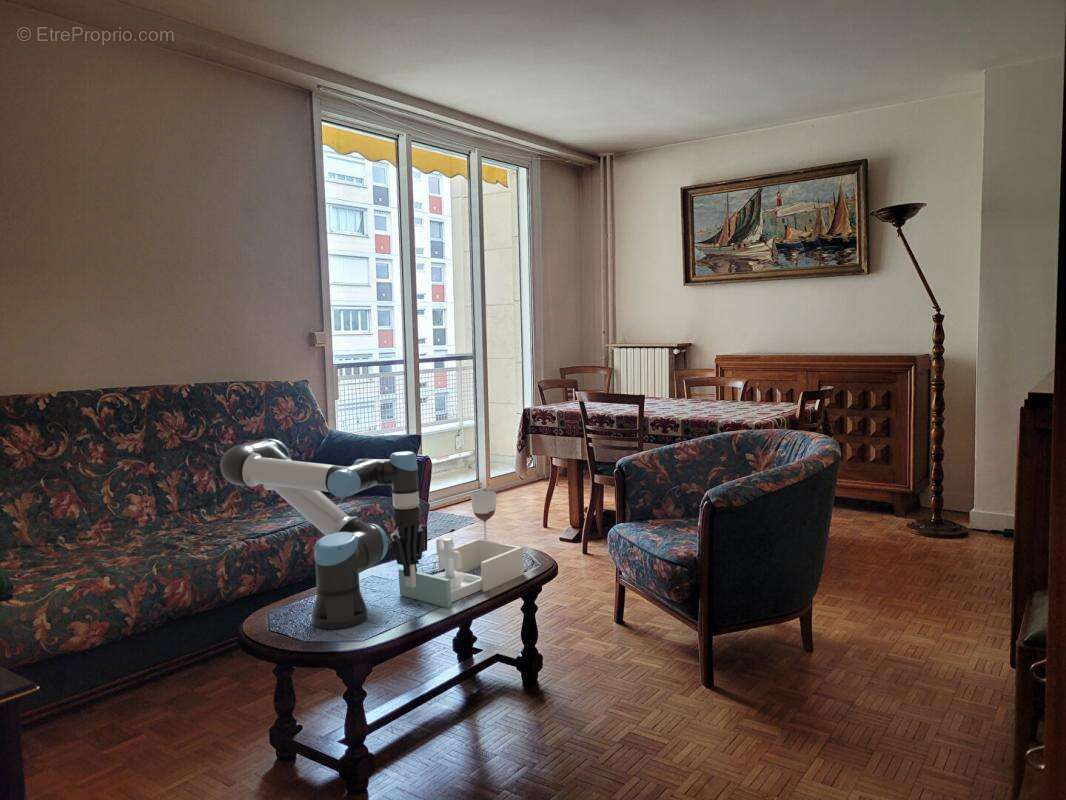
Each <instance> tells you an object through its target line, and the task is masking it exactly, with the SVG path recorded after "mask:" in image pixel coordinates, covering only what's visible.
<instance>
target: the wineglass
mask: <svg viewBox="0 0 1066 800" xmlns="http://www.w3.org/2000/svg"><path fill="white" fill-rule="evenodd" d="M470 499H471V508H472V512H473V515H474V516H475V518H477V519H479V520H480V521H481V522H483V537H484V538H483V540H487V538H488V536H487V535H488V534H487V521H488V520H490V519H492V517H493V516H494V515H495V513H496V509H497V492H495V491H493V490H492V491H491V490H490V491H488V490H483V491H482V490H480V491H477V492H473V493H471V494H470ZM487 541H488V540H487Z"/></svg>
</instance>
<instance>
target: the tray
mask: <svg viewBox="0 0 1066 800" xmlns="http://www.w3.org/2000/svg"><path fill="white" fill-rule="evenodd" d="M440 573H442V572H440ZM462 573H463V572H462ZM465 573H466V576H465V577H464V579H463V581H462V583H461V585H460V586H458V587H455V588H453V589H450V579H446V578H442V577H438V576H434V575H436V574H439V572H437V573H434V574H429V573H425V572H421V571H417V573H416V587H413V588H411V587H407V586H406V579H405V576H404V569H403V567H401V568H398V583H399V586H398V587H399V596H402V597H407V598H409V599H413V600H414V599H415V600H417V601H421V602H425V603H428V604H432V605H436V606H439V607H443V608H447V609H448V608H450V607H452V603H453V602H457V601H458V600H461V599H463V598H465V597H467V596H469V595H472V594H475V593H477V592H480V591H482V581H481V576H479V575H475V574H470V573H467V572H465Z"/></svg>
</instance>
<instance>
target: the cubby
mask: <svg viewBox="0 0 1066 800" xmlns="http://www.w3.org/2000/svg"><path fill="white" fill-rule="evenodd" d="M453 550H455V551H458V552H460V554H461V565H462V566H461V568H460V569H455V564H454V571H458V572H463V573H467V572H468V571H471V570H474V569H476V568H479V567H480V575H481V576H480V577H481V581H482V589H481V591H482V592H484V593H485V592H487V591H489V590H492V589H494V588H496V587H498V586H500V585H501V586H502V585H503V584H506V583H507V582H510V581H512V580H514V579H518V578H519V577H520V576H523V575H524V573H525V571H524V548H523V546H517V545H512V544H507V543H503V542H497V541H492V540H484V539H483V538H482V539H481V538H476V539H474V540H470V541H468V542H465V543H463V544H460V545H456V546H454V547H453ZM437 557H438V571H439V570H443V569H445V560H444V557H441V556H439V555H438V554H437Z"/></svg>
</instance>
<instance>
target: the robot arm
mask: <svg viewBox="0 0 1066 800" xmlns="http://www.w3.org/2000/svg"><path fill="white" fill-rule="evenodd" d="M219 464H220V465H219V467H220V471H221V474H222V476H223V478H224V479H225V480H226V481H227V482H228V483H231V484H232V485H236V486H243V487H245V486H246V487H252V488H253V487H256V486H258V485H260V486H261V487H262V488H263V489H264V490H265V491H271V490H273V491H275V493H276V494H278V495H279V496H280V497H281V498H283V500H285V501H286V502H287V503H288V504H289V505H290V506H291V507H292V508H294V510H296V511H297V512H298V513H299V514H301V515H302V516H303V517H304V519H306V520H307V521H308V522H309V523H310V524H312V525H313V526H314V527H315V528H317V529H318V530H319V532H321V533H322V534H323V535H324V536H322V537H320V538H319V539H318V540H317V541H316V543H315V544H314V550H313V551H314V554H313V560H314V569H315V570H314V571H315V582H316V584H315V585H316V598H315V601H314V604H313V608H312V612H311V624H312V626H314V627H315V626H316V627H315V628H317V627H319V628H318V629H321V628H323V629H322V630H340V629H341V630H342V629H348V628H351V627H354V626H357V625H359V624H361V623H363V622H365V621H366V620H367V619H368V607H367V604H366V602H365V599H364V596H363V595H362V591H361V590H360V589H361V588H360V573H362V572H364V571H366V570H368V569H370V568H371V567H373V566H376V565H377V564H379V562H380V561H382V560H383V559H384V558H385V556H386V554H387V552H388V548H389V543H388V541H391V544H392V548H393V552H394V556H395V559H396V564H397V565H401V566H402V568H403V569H404V576H405V579H406V586H407V587H411V588H413V587H416V573H417V572H418V570H417V565H418V564H419V563H420V561H419V560H422V558H423V547H424V540H425V534H426V530H427V526H426V525H423V524H422V523H421V522H420V520H419V519H421V507H420V506H419V505H420V491H419V474H418V473H419V471H418V470H419V466H418V460H417V455H416V453H414V452H413V451H408V450H407V451H396V452H392V453H391V454H390V455H389V458H387V459H383V458H382V459H381V458H369V457H366V458H358V459H356V460H355V461H354V462H353V463H352V464H351V465H349V466H344V465H335V464H328V463H327V464H326V463H319V462H318V463H317V462H308V461H307V462H306V461H299V460H292V457H291V455H290V450H289V448H288V447H287V446H286V445H285V444H284V443H283V442H282V441H280V440H277V439H274V438H261V439H258V440H256V441H253V442H248V443H243V444H237V445H234V446H233V447H231V448H228V450H226V452H224V454H223V455H222V457H221V460H220V463H219ZM375 486H391V492H392V506H393V509H392V511H393V512H392V513H393V521H394V522H395V525H394V531H393V532H392V533H390V534H388V536H387V533H386V531H384V529H383V528H382V527H381V526H379V525H378V524H376V523H366V522H364V521H363V520H362V519H361V518H360V517H358V516H350V515H348V514H347V513H346V512H345V511H343V509H341V508H340V507H339V506H338V505H337V504H335V503H334V502H333V501H332V500H331V499H330V498H329V497H327V495H325V494H324V493H323V492H325V493H331V495H333V496H335V497H336V498H341V499H342V498H346V497H347V498H348V497H352V496H354V495H355V494H357V493H359V492H361V491H364V490H366V489H370V488H372V487H375Z"/></svg>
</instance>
